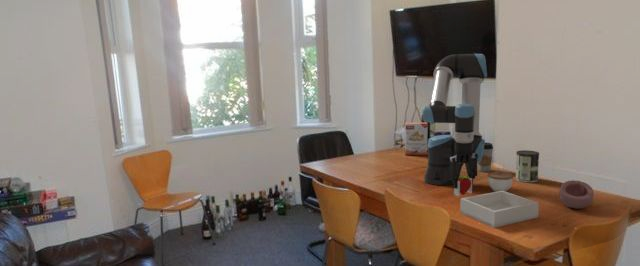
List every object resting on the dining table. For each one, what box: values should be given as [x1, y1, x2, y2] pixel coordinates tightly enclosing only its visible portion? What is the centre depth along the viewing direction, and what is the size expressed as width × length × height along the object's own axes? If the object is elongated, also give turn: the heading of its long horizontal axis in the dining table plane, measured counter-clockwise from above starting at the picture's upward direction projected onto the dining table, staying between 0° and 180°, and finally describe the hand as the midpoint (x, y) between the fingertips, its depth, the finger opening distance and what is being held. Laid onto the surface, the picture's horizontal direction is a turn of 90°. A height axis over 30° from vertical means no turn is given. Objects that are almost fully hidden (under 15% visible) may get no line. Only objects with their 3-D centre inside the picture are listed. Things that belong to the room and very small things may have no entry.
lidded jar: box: [487, 170, 514, 192], centre depth 202 cm, size 11×11×9 cm
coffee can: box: [515, 149, 540, 183], centre depth 218 cm, size 10×10×14 cm
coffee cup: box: [477, 142, 494, 173], centre depth 238 cm, size 8×8×15 cm
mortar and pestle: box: [558, 179, 595, 210], centre depth 176 cm, size 12×12×11 cm
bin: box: [459, 191, 540, 228], centre depth 171 cm, size 18×22×6 cm
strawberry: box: [458, 172, 471, 196], centre depth 187 cm, size 6×8×10 cm
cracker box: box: [404, 122, 429, 156], centre depth 283 cm, size 14×6×21 cm, turn 81°
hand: (462, 193), depth 187 cm, fingers closed on strawberry, 6 cm apart
